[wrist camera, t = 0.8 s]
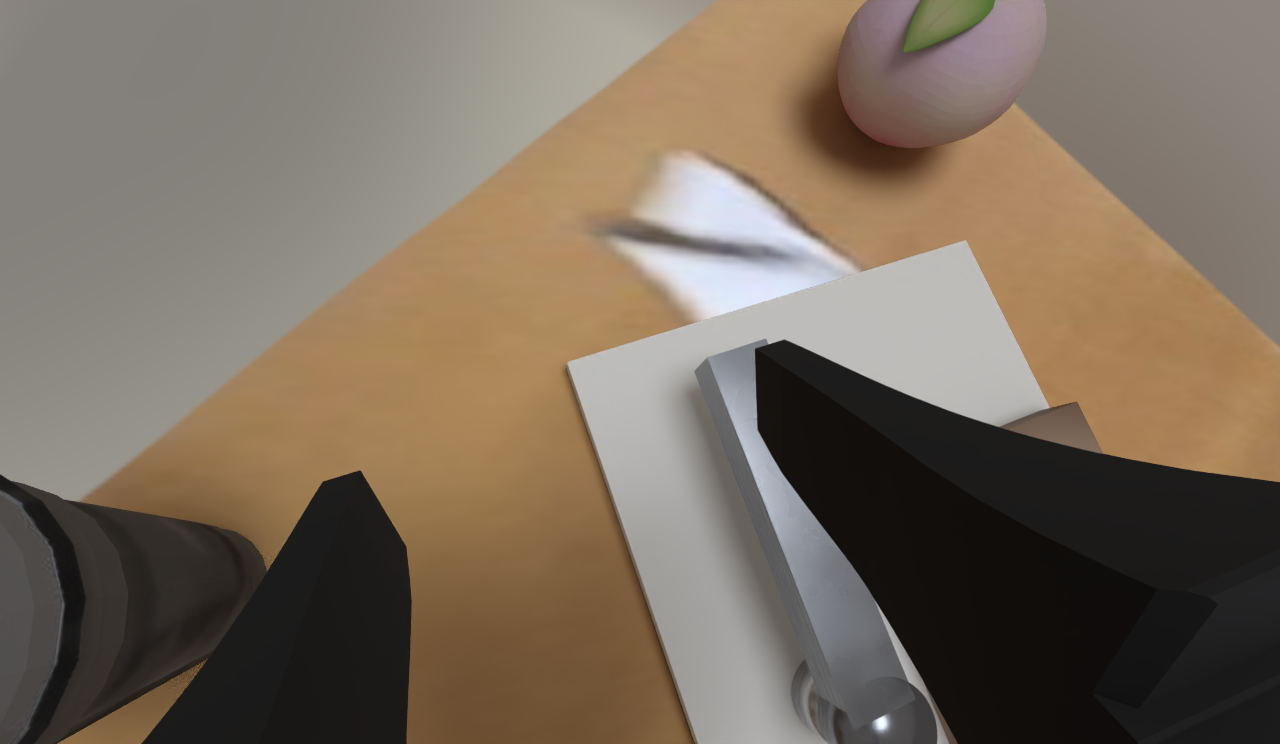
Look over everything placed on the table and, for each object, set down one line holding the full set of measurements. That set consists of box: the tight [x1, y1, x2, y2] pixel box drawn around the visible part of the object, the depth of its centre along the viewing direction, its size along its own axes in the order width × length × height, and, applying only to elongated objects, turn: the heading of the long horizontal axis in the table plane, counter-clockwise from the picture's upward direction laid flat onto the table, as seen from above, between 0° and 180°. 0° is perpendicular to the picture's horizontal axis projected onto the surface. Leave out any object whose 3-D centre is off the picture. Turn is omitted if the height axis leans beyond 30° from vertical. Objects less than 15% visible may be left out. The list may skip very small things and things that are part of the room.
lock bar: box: [694, 339, 938, 744], centre depth 21 cm, size 15×3×2 cm, turn 20°
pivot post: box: [791, 660, 826, 741], centre depth 23 cm, size 3×3×2 cm
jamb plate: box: [566, 240, 1049, 744], centre depth 26 cm, size 20×21×1 cm
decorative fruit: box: [837, 0, 1047, 148], centre depth 28 cm, size 9×8×10 cm
